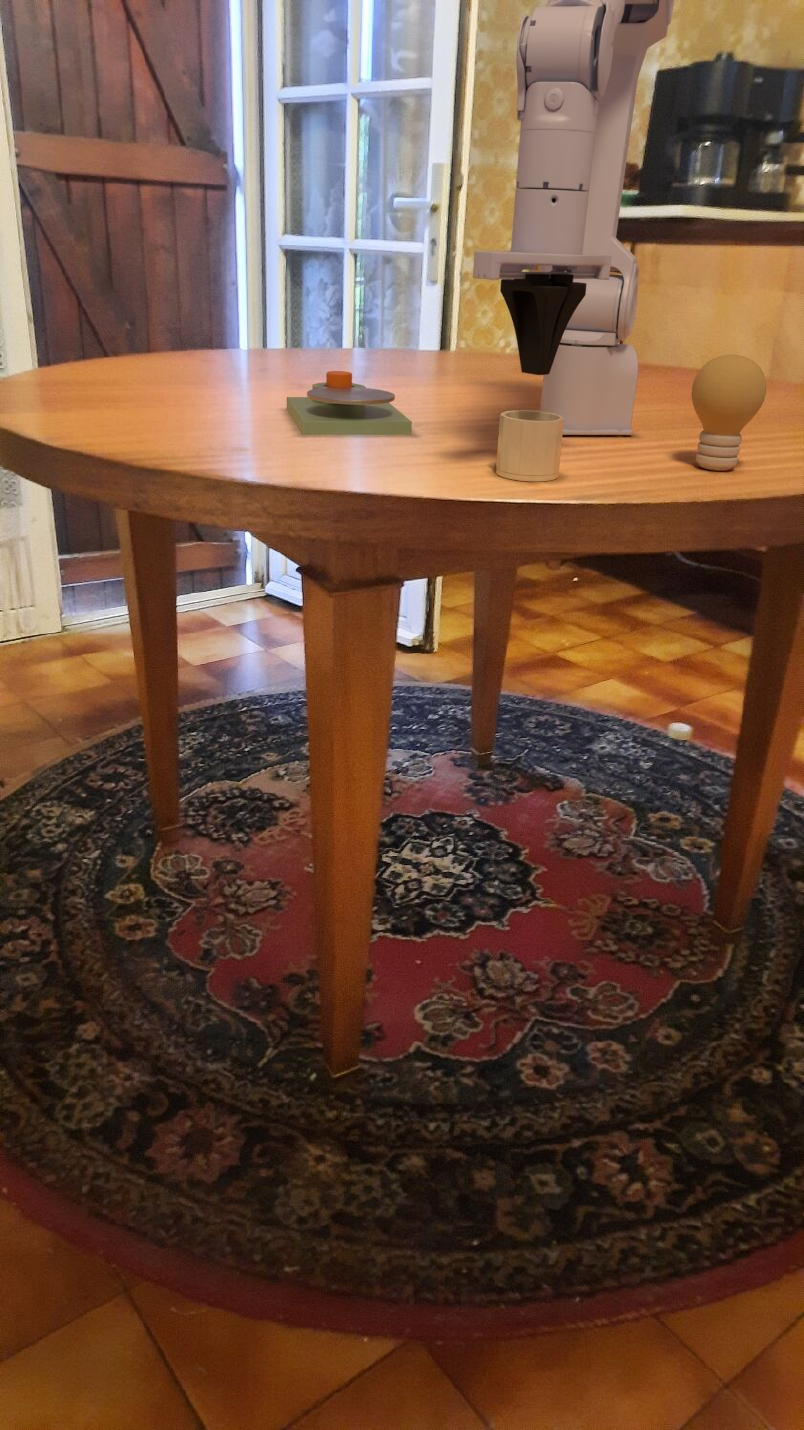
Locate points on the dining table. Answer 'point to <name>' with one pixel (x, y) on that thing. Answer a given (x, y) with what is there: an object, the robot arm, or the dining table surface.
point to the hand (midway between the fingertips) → (535, 373)
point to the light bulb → (725, 407)
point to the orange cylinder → (338, 379)
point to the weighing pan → (350, 395)
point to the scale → (346, 417)
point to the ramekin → (529, 445)
